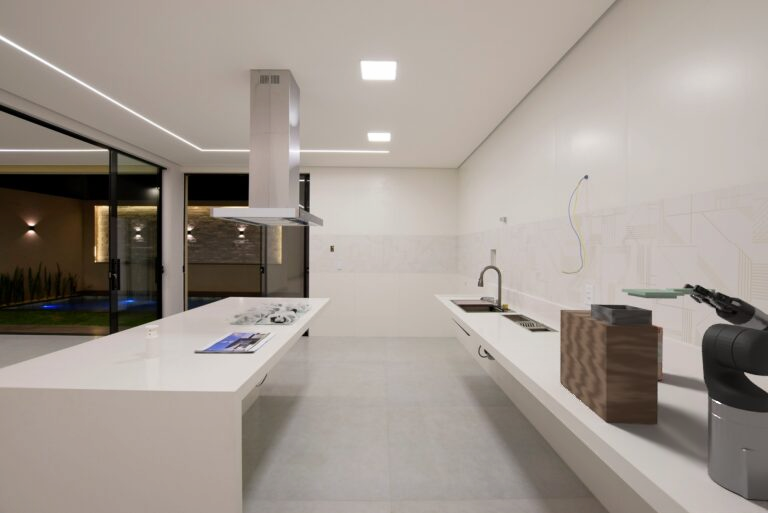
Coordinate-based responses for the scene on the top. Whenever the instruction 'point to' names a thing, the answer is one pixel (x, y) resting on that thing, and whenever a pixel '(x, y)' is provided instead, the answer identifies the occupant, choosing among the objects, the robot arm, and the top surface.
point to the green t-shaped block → (661, 292)
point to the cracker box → (660, 351)
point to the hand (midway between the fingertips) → (690, 286)
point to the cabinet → (611, 361)
